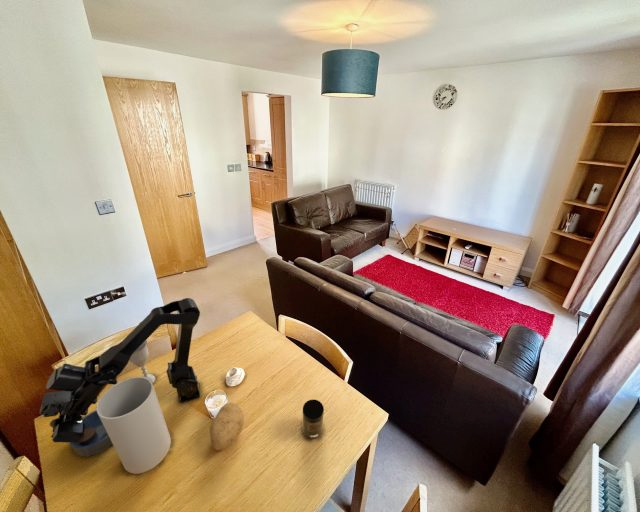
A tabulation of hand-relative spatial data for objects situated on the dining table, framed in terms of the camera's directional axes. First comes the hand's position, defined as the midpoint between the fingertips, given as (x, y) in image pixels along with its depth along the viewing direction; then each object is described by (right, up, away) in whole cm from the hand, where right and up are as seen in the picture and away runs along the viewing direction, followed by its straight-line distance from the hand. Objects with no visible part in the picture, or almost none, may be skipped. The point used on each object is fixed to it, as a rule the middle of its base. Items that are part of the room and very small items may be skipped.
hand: (53, 434), depth 79 cm
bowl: (+7, -5, +8) cm, 12 cm away
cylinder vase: (+25, -8, +4) cm, 27 cm away
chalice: (+11, +3, +27) cm, 29 cm away
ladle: (+3, -5, +5) cm, 8 cm away
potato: (+48, -6, +9) cm, 49 cm away
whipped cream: (+44, +3, +28) cm, 52 cm away
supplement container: (+75, -6, +12) cm, 76 cm away
